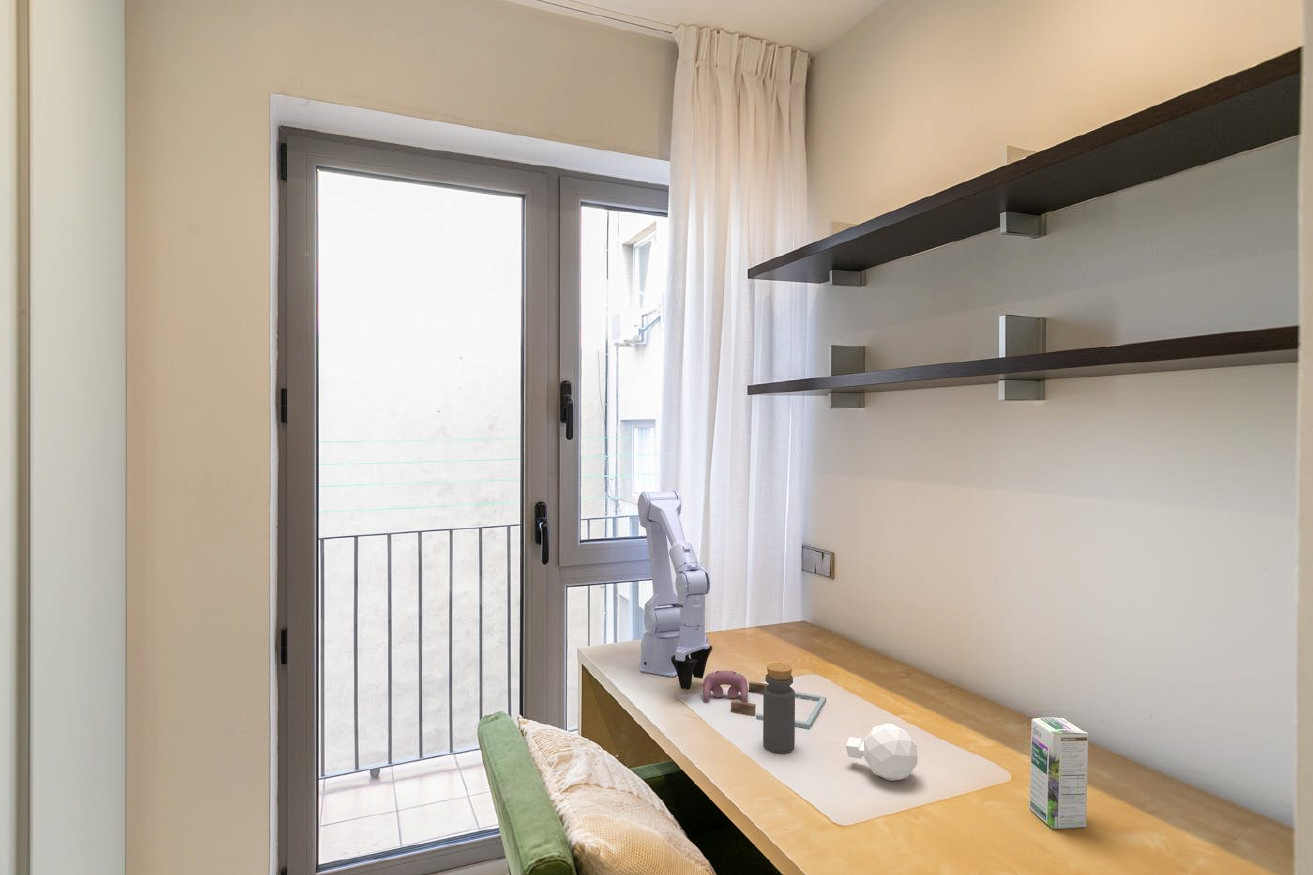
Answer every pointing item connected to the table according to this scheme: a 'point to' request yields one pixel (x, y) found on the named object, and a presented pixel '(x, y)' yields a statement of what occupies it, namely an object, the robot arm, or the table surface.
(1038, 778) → the syrup box
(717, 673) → the video game controller
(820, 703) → the frame
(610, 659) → the table surface
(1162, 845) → the table surface
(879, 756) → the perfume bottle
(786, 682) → the bottle
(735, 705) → the wooden blocks
